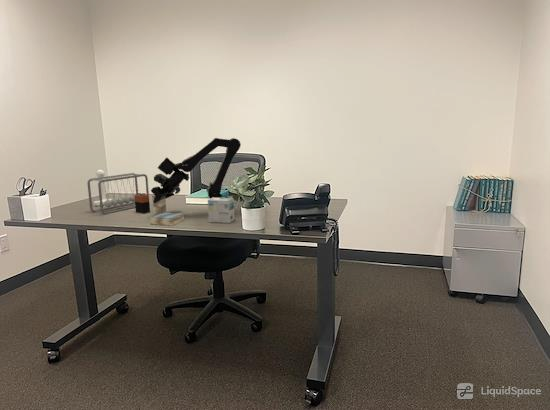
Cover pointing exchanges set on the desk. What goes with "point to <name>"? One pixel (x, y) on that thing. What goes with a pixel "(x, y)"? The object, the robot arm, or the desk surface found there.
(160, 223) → the foundation plinth
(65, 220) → the desk surface
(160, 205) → the birch snap block
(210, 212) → the light bulb box
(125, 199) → the newton's cradle
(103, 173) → the joystick
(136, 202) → the battery
